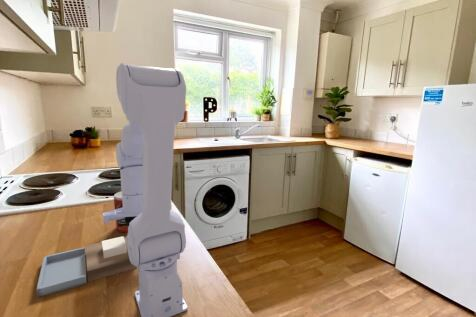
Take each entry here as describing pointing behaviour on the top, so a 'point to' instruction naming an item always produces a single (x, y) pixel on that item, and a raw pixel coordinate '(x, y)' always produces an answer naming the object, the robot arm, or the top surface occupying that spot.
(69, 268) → the tray
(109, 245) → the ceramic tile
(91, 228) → the top surface
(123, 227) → the canned food
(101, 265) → the walnut board
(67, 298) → the top surface
